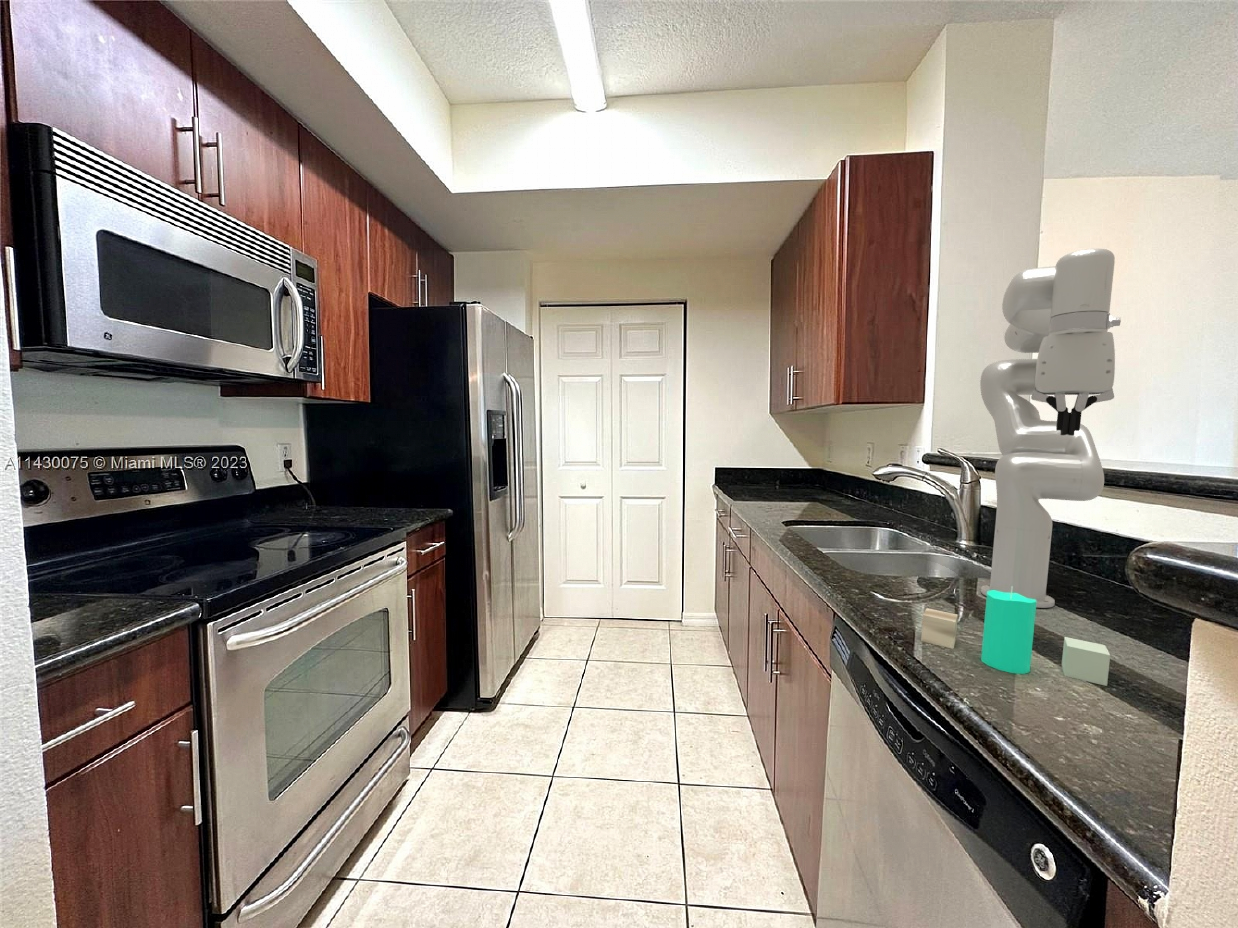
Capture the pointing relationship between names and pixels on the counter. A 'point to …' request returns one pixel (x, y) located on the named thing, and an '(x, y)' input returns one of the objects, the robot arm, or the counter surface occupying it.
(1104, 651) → the sage block
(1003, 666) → the candle
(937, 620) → the birch block
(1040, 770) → the counter surface
